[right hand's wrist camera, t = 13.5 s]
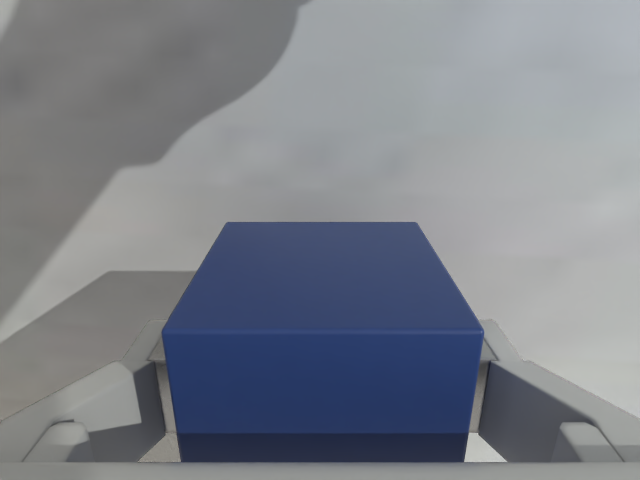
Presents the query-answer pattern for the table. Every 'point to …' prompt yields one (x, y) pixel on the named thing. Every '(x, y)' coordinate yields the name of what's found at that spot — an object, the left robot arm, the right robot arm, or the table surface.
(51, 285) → the table surface
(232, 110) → the table surface
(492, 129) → the table surface
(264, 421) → the block
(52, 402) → the right robot arm
